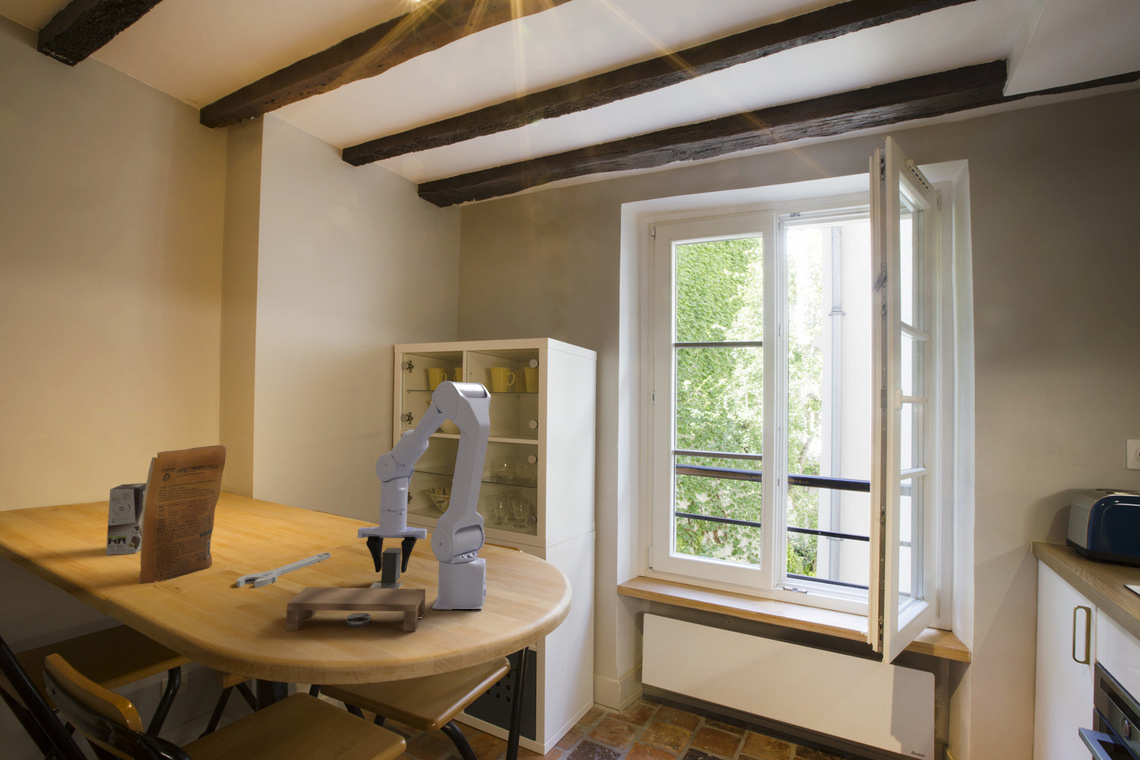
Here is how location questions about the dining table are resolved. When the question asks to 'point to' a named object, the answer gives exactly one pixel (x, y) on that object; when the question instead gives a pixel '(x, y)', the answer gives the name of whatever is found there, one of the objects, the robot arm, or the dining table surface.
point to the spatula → (390, 569)
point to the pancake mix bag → (180, 511)
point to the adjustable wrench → (279, 571)
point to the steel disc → (358, 619)
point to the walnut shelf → (356, 603)
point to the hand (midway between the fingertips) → (391, 571)
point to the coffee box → (125, 519)
